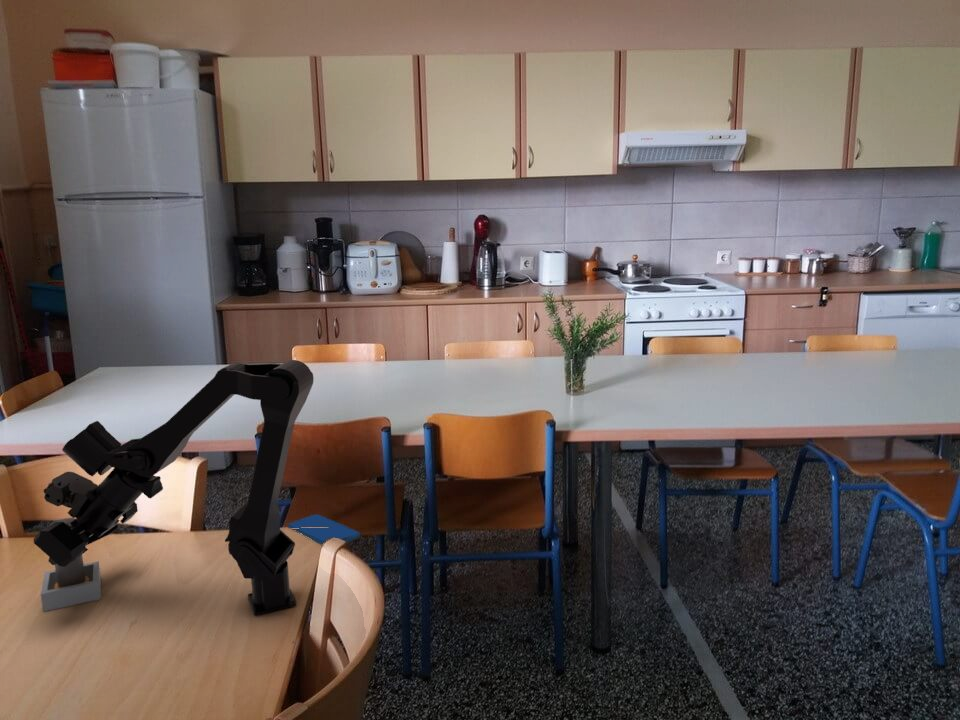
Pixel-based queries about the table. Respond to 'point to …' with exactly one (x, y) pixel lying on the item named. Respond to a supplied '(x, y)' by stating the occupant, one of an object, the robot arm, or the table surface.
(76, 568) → the plug
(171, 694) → the table surface
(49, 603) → the socket
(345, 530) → the smartphone
